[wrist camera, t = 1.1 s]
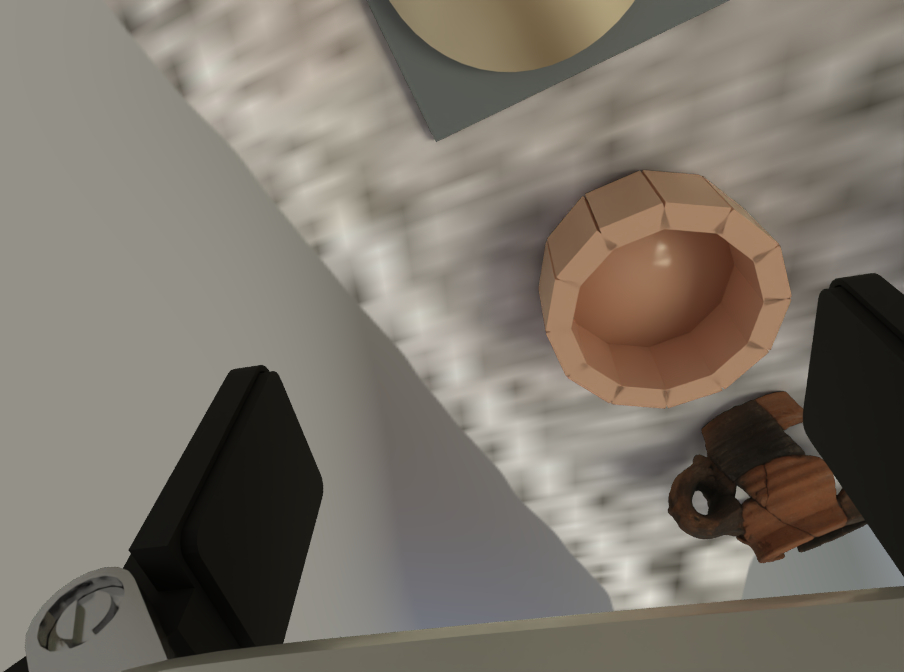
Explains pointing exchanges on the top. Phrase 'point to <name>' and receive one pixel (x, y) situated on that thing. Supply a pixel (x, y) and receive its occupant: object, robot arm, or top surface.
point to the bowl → (660, 290)
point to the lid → (510, 29)
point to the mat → (487, 92)
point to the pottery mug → (762, 484)
